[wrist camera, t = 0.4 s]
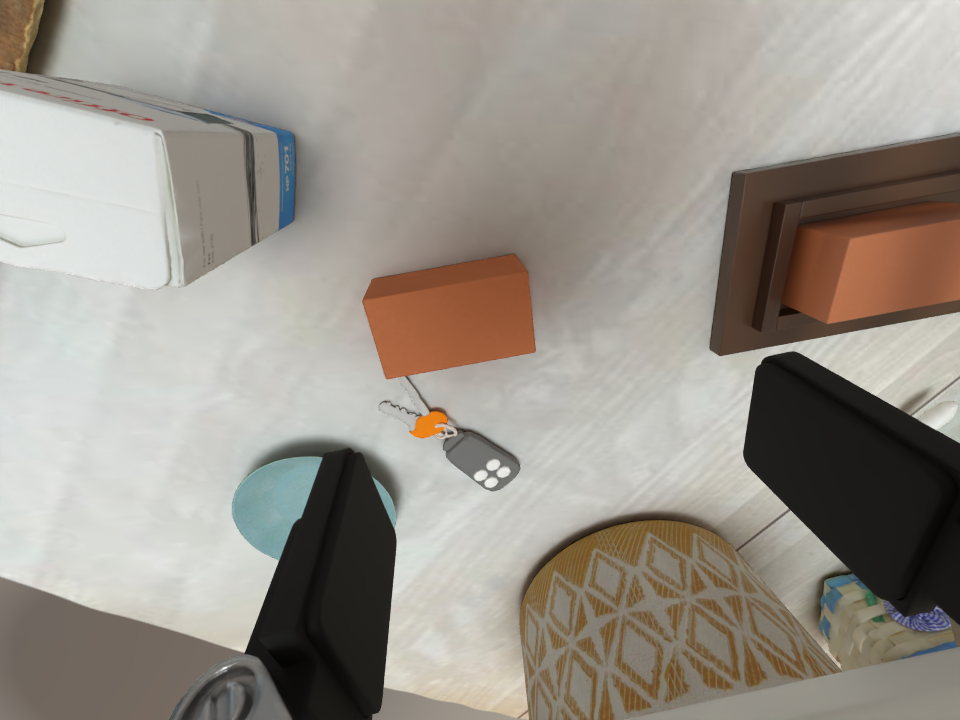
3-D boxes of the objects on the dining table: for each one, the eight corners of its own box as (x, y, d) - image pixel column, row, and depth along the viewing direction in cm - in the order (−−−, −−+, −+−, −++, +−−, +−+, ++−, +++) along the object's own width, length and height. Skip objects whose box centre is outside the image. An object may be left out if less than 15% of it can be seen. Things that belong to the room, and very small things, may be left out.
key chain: (523, 458, 33) (527, 471, 32) (491, 485, 34) (493, 498, 33) (397, 365, 28) (396, 375, 27) (364, 399, 29) (361, 411, 28)
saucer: (356, 561, 37) (351, 585, 35) (220, 516, 33) (206, 540, 31) (425, 474, 33) (424, 496, 31) (281, 411, 29) (270, 431, 27)
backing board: (709, 349, 30) (759, 385, 26) (732, 172, 24) (801, 178, 20) (1047, 287, 31) (1155, 311, 26) (1146, 99, 25) (1307, 88, 20)
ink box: (298, 133, 21) (172, 121, 11) (294, 230, 23) (185, 297, 13) (109, 83, 20) (-252, 13, 9) (123, 193, 22) (-157, 236, 11)
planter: (498, 512, 36) (575, 942, 16) (778, 482, 38) (1143, 836, 18) (501, 670, 48) (548, 1024, 29) (713, 641, 50) (891, 955, 30)
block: (391, 350, 28) (386, 380, 24) (371, 278, 25) (361, 300, 22) (523, 326, 28) (536, 352, 24) (514, 253, 25) (528, 270, 22)
